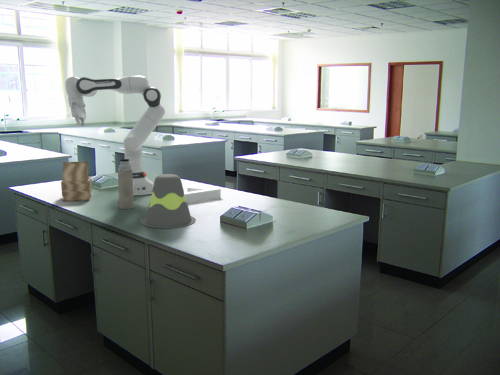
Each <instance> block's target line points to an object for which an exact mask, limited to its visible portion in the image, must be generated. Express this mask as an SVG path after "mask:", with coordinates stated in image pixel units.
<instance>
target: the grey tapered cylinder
mask: <svg viewBox="0 0 500 375" xmlns="http://www.w3.org/2000/svg"><path fill="white" fill-rule="evenodd" d="M153 184H154V186H153V190H152V194H151V197H150V202H149V204H148V207H147V208H148V209H147V213H146V216H145V217H144V218H142V219H141V221H140V223H141V225H143V226H144V227H149V228H153V229H154V228H155V229H177V228H184V227H187V226H191V225H193V224H195V223H196V222H197V220H196V217H194V216H192V215H191V213H190V209H189V205H188V204H189V203H186V199H185V196H184V190H183V186H184V185H183V183H182V179H181V176H179V175H177V174H173V173H164V174H159V175H157V176H156V177H155V179H154V182H153ZM195 221H196V222H195Z"/></svg>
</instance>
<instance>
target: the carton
mask: <svg viewBox="0 0 500 375" xmlns="http://www.w3.org/2000/svg"><path fill="white" fill-rule="evenodd" d="M60 185H61V186H60V187H61V197H62V199H63V201H62V202H79V201H90V200H91V197H92V192H93V189H92V188H93V186H92V177H91V176H88V181H63V182H62V180H61V181H60Z"/></svg>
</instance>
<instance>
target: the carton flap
mask: <svg viewBox="0 0 500 375" xmlns="http://www.w3.org/2000/svg"><path fill="white" fill-rule="evenodd" d="M62 164H63V166H62V179H61V181H62V182H63V181H88V177H89V161H63V163H62Z"/></svg>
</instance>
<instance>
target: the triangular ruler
mask: <svg viewBox="0 0 500 375" xmlns="http://www.w3.org/2000/svg"><path fill="white" fill-rule="evenodd" d="M182 186H183V190H184V196H185V199H186V203H187V204H190V203H192V204H193V203H197V202H204V201H208V200H216V199H217V200H218V199H221V197H222V196H221V193H222V192H221V190H222V189H221V188H211V187H204V186H203V187H202V186H190V185H182Z"/></svg>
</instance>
